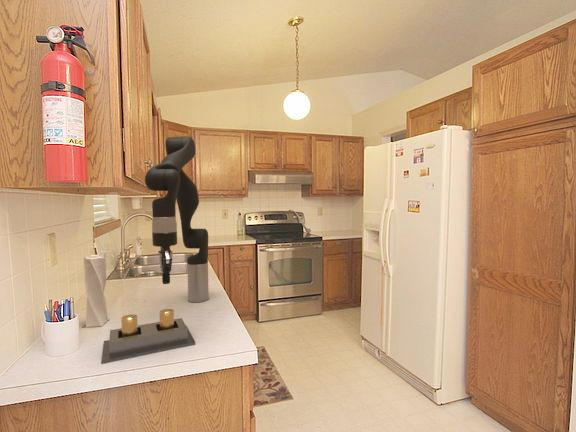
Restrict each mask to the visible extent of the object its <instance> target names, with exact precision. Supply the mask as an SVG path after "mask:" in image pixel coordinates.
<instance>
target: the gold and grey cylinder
mask: <svg viewBox="0 0 576 432" xmlns="http://www.w3.org/2000/svg"><path fill="white" fill-rule="evenodd" d="M174 312H175V310H174V309H172V308H165V309H161V310H159V322H160V331H162V330H168V329H173V328H174V319H175V313H174Z"/></svg>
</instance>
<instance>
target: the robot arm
mask: <svg viewBox="0 0 576 432" xmlns="http://www.w3.org/2000/svg"><path fill="white" fill-rule="evenodd" d="M165 151H166V155H165V157H164V158H163V159H162V160H161V162H160V163H157V164H156V165H154V166H152V167H151V168H150V169H148V170H147V172H146V173H145V178H144V184H145V186H146V187H147V189H149V190H150V191H153V192H167V194H166V195H164V196H163V197H159V198H155V199H154V200H153V201H152V206H151V209H152V210H151V211H152V222H151V234H152V237H151V238H152V241H151V242H152V246H153V247H160V248H159V249H160V250H158V251H157V252H158V257H159V265H160V266H159V267H160V271H161V279H162V280H161V283H162V284H163V285H167V284H170V282H171V275H170V274H171V271H172V265H173V263H172V262H173V250H171V247H172V246H173V247H174V246H176V245H177V244H178V223H177V217H176V214H177V213H176V204H177V207H178V208H177V209H178V212H179V217H180V218H179V219H180V224H181V225H180V226H181V235H182V241H183V245H184V247H185V248H186V249H192V250H193V249H195V250H196V249H198V252H197V253H196V254H193V255H190V256H188V257H187V259H186V266H187V269H186V270H187V299H188V302H189V303H203V302H205V301H206V302H207V301H209V298H210V297H209V294H210V293H209V292H210V291H209V263H208V261H209V260H208V259H209V231H208V229H206V228H192V227H191V226H192V225H191V224H192V223H191V221H192V219H193V216H194V214H196V211H197V209H198V206H199V205H200V198H199V191H198V187H197V186H196V184H195V183H194V182H193V180H192V179H191V178H190V177H189V176H188V175H187V174H186V172H185V171H184V170H183V168H184V167H185V166H186V165H187V164H188V163H189V162H190V161H191V160H193V159H194V157H195V155H196V151H197V150H196V143H195V140H194V138H192V137H190V136H188V135H187V136H170V137H167V138H166V139H165Z"/></svg>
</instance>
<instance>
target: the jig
mask: <svg viewBox="0 0 576 432" xmlns="http://www.w3.org/2000/svg"><path fill="white" fill-rule="evenodd" d="M193 345H196V341H195V339H194V337H193V335H192V333H191V331H190V329H189V328H188V326H187V325H186V323H185V321H184V319H183V318H182V317H181V318H174V328H173V329H168V330H162V331H160V321H157V322H150V323H145V324H139V325H138V315H137V314H134V313H131V314H126V315H122V317H121V327H120V328H115V329H110V331H109V339H108V340H103V345H102V354H101V365H104V364H107V363H112V362H117V361H118V362H119V361H121V360H127V359H132V358H136V357H141V356H145V355H147V356H148V355H150V354H155V353H160V352H161V353H162V352H165V351H169V350H175V349H179V348H180V349H181V348H184V347H188V346H193ZM103 363H104V364H103Z"/></svg>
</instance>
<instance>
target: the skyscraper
mask: <svg viewBox="0 0 576 432" xmlns="http://www.w3.org/2000/svg"><path fill="white" fill-rule="evenodd" d="M101 253H104V256H101ZM106 254H107V252H106V251H105V250H100V252H99V253H98V254H92V255H90V256H87V255H86V256H85V255H84V257H83V265H82V266H83V283H84V288H85V292H86V296H87V297H86V311H85V324H83V325H82V327H81V329H85V328H87V329H88V328H102V327H103V326H104V325H106V324H107V323H108V322H109V321H110V319H108V310H107V301H106V296H105V289H106V283H107V259H106V256H107V255H106Z"/></svg>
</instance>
